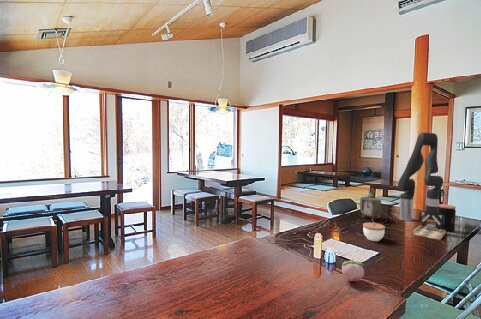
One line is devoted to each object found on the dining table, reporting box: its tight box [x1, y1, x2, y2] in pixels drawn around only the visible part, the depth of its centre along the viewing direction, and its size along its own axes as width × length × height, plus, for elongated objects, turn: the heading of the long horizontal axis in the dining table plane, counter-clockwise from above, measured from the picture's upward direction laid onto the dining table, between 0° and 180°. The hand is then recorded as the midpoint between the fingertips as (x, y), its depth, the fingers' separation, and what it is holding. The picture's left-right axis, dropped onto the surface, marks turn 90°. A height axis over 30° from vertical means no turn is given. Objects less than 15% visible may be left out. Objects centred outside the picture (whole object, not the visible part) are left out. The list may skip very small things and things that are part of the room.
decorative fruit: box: [341, 259, 365, 282], centre depth 121 cm, size 9×8×10 cm
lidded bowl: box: [362, 221, 386, 242], centre depth 175 cm, size 13×13×11 cm
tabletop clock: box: [359, 188, 382, 222], centre depth 222 cm, size 14×9×25 cm, turn 17°
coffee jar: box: [435, 203, 457, 233], centre depth 194 cm, size 11×11×18 cm
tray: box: [412, 225, 447, 241], centre depth 185 cm, size 15×18×3 cm
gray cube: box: [425, 223, 436, 232], centre depth 188 cm, size 4×4×5 cm
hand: (430, 228), depth 188 cm, fingers open, 8 cm apart
